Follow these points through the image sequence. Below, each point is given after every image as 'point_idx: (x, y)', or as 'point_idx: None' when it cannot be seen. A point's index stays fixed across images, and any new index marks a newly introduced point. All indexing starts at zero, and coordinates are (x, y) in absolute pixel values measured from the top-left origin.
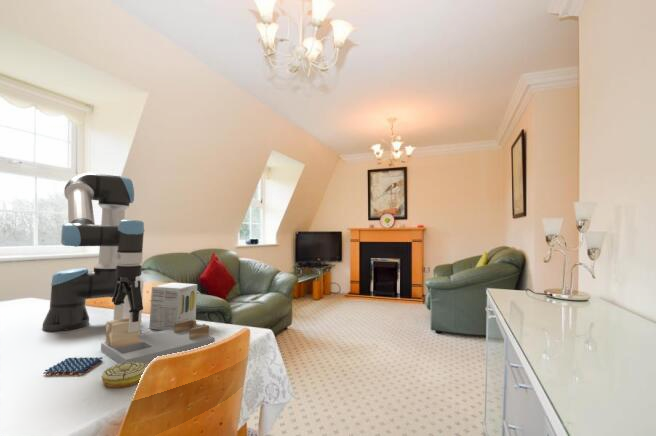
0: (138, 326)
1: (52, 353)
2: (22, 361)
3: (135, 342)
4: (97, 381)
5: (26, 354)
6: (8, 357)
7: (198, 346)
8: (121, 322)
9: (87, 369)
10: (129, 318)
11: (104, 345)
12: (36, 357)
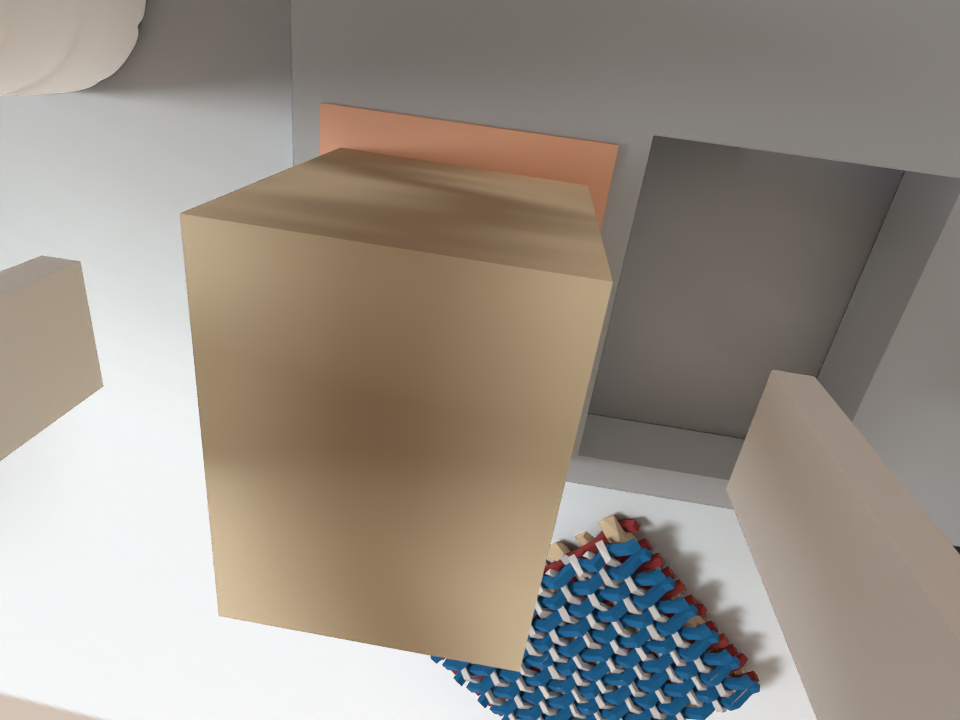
0: (849, 420)
1: (145, 585)
2: (202, 701)
3: (601, 233)
4: None
5: (68, 652)
6: (72, 703)
7: None
8: (467, 547)
9: (718, 643)
10: (818, 695)
11: None
12: (172, 651)
